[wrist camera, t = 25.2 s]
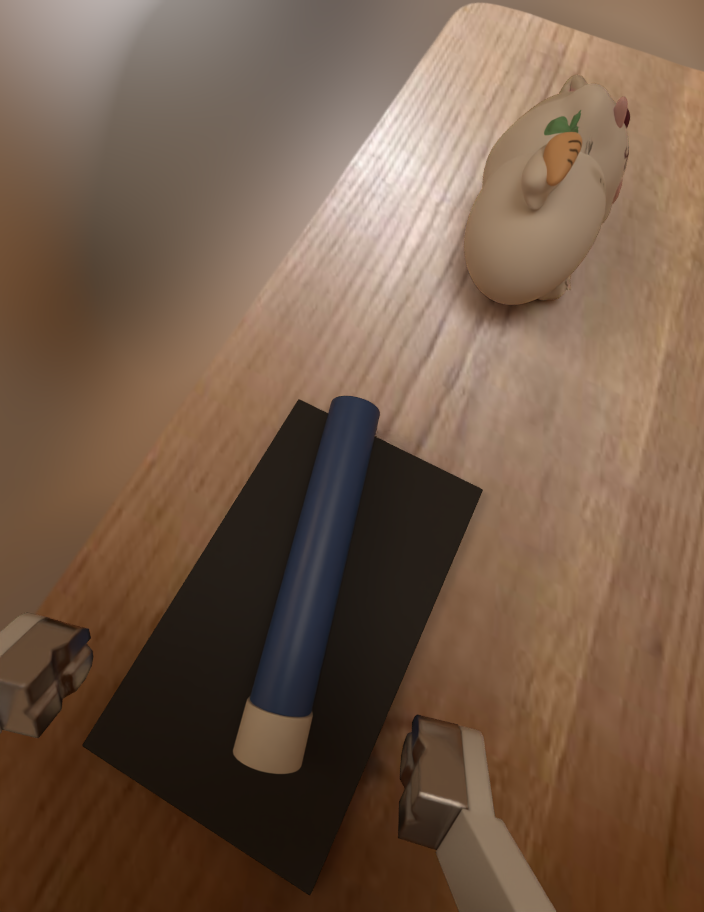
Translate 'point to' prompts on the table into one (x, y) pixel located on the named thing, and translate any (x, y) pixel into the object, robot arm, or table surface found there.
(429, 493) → the mat
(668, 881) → the table surface
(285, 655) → the marker
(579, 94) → the cat figurine
